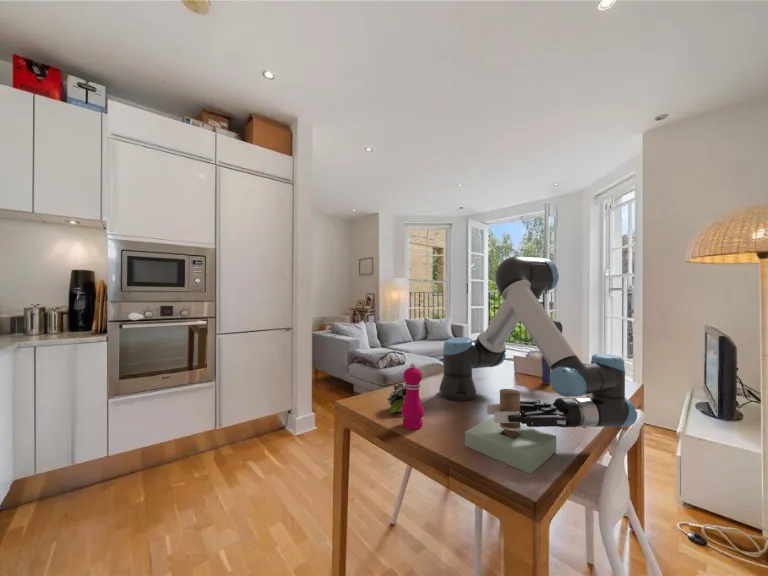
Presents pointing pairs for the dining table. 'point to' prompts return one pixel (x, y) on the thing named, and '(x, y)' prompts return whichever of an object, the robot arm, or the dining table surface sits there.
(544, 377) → the rubber mallet
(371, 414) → the dining table surface
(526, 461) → the sage board
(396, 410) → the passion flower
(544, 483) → the dining table surface
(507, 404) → the walnut peg
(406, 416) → the pepper mill
